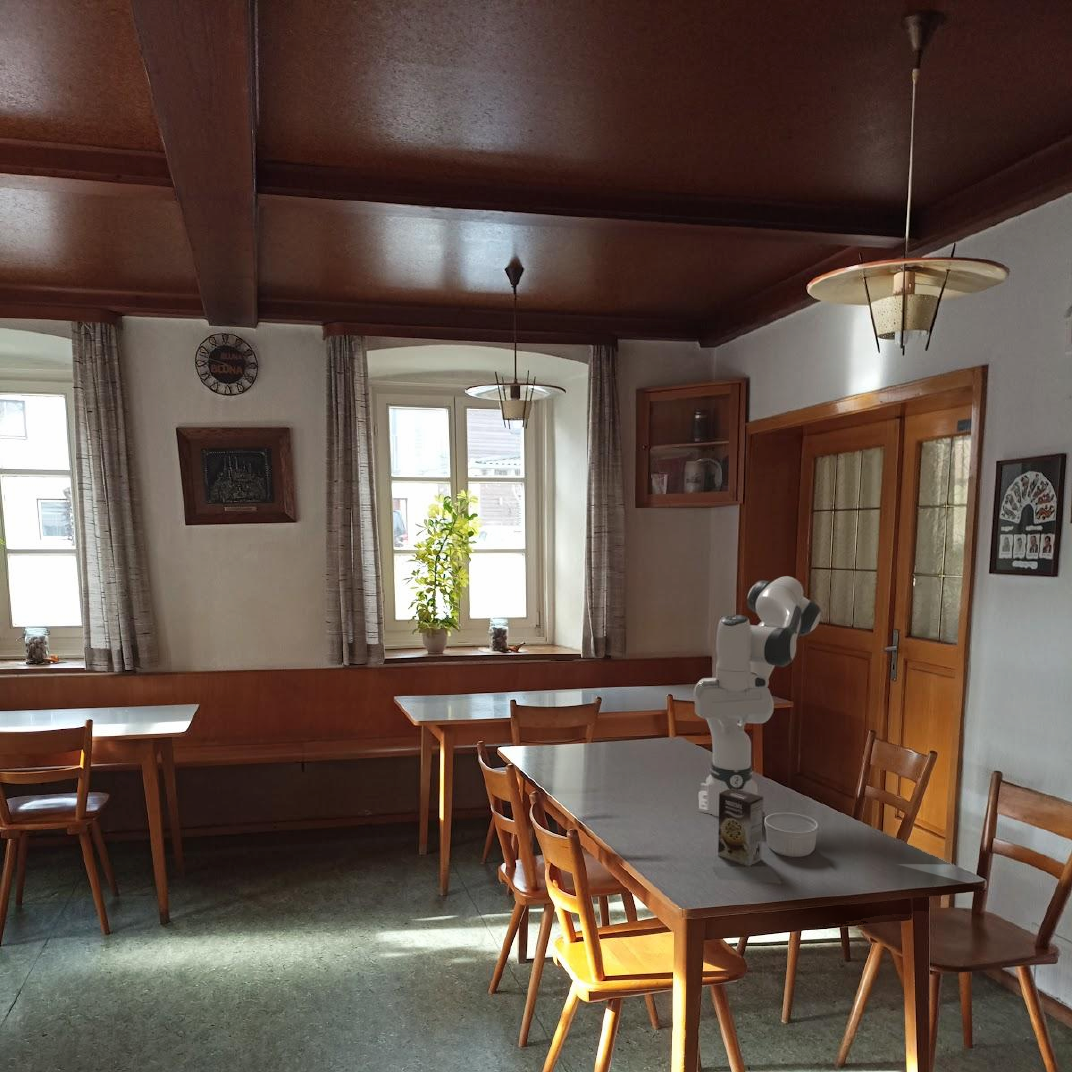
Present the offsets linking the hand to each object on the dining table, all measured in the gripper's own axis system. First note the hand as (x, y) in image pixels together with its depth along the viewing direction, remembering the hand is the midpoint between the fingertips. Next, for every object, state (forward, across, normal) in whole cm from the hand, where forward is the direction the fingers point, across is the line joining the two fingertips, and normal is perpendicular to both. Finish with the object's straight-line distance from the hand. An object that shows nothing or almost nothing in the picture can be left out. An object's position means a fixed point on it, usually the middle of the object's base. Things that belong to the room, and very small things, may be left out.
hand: (732, 732), depth 221 cm
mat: (+29, -6, -19) cm, 35 cm away
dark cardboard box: (+29, -2, -9) cm, 31 cm away
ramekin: (+29, +13, -7) cm, 33 cm away
